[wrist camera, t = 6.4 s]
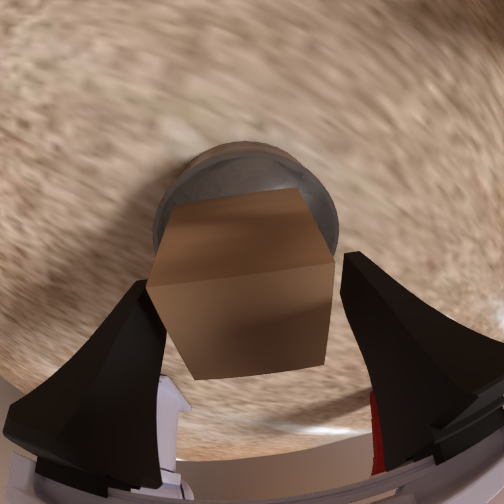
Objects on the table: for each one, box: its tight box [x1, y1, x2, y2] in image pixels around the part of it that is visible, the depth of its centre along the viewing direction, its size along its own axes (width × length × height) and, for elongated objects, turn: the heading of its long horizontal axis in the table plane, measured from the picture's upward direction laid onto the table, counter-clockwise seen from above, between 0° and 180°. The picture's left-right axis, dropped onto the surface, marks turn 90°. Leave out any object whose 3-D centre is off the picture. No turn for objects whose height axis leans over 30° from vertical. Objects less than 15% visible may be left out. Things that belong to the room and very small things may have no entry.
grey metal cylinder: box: [153, 141, 339, 256], centre depth 14 cm, size 8×8×3 cm
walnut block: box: [146, 187, 335, 380], centre depth 11 cm, size 5×5×5 cm
